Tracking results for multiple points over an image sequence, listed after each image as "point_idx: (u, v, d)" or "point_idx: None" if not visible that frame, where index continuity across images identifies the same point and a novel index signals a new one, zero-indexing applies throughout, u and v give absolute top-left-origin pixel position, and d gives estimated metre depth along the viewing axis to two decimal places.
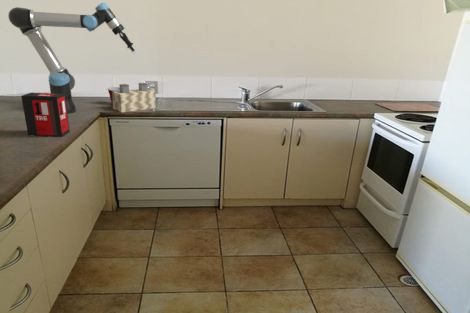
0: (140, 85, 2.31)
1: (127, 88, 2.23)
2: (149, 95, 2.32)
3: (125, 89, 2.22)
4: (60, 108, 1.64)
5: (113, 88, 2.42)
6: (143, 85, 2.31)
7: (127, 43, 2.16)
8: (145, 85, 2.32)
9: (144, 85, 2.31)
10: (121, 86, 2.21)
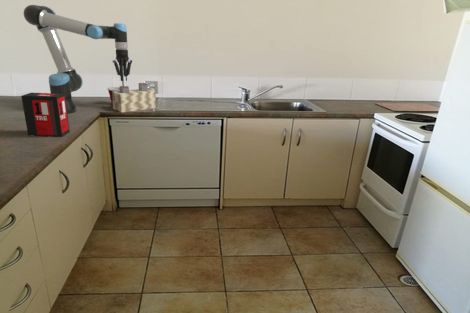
0: (140, 85, 2.31)
1: (127, 90, 2.24)
2: (149, 95, 2.32)
3: (125, 91, 2.23)
4: (60, 108, 1.64)
5: (113, 88, 2.42)
6: (143, 85, 2.31)
7: (117, 72, 2.18)
8: (145, 85, 2.32)
9: (144, 85, 2.31)
10: (121, 88, 2.22)
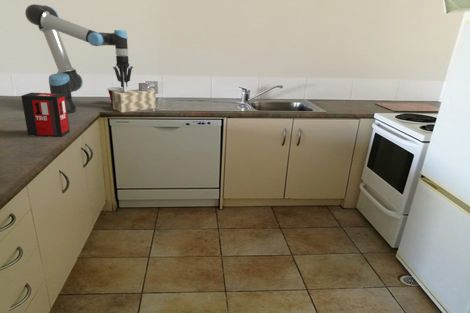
0: (140, 85, 2.31)
1: None
2: (149, 95, 2.32)
3: None
4: (60, 108, 1.64)
5: (113, 88, 2.42)
6: (143, 85, 2.31)
7: (117, 78, 2.19)
8: (145, 85, 2.32)
9: (144, 85, 2.31)
10: None
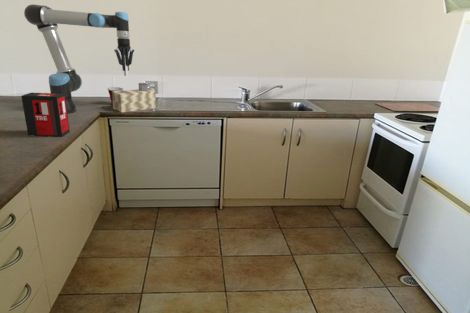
0: (140, 85, 2.31)
1: None
2: (149, 95, 2.32)
3: None
4: (60, 108, 1.64)
5: (113, 88, 2.42)
6: (143, 85, 2.31)
7: (119, 62, 2.17)
8: (145, 85, 2.32)
9: (144, 85, 2.31)
10: None
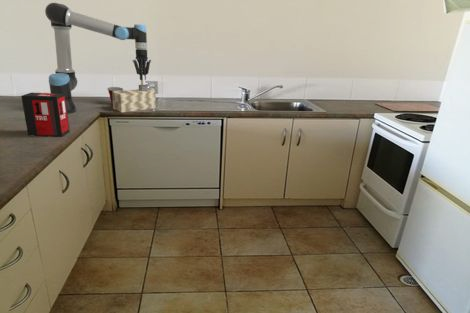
0: (140, 87, 2.31)
1: None
2: (149, 95, 2.32)
3: None
4: (60, 108, 1.64)
5: (113, 88, 2.42)
6: (143, 87, 2.31)
7: (137, 71, 2.27)
8: (145, 87, 2.32)
9: (144, 87, 2.32)
10: None
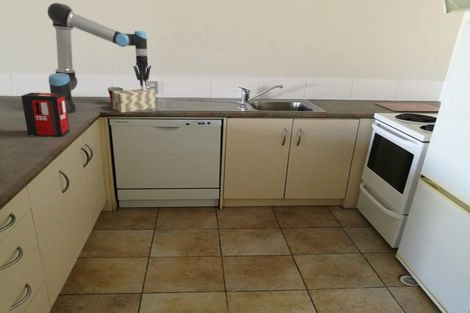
0: None
1: None
2: (149, 95, 2.32)
3: None
4: (60, 108, 1.64)
5: (113, 88, 2.42)
6: None
7: (137, 77, 2.28)
8: None
9: None
10: None
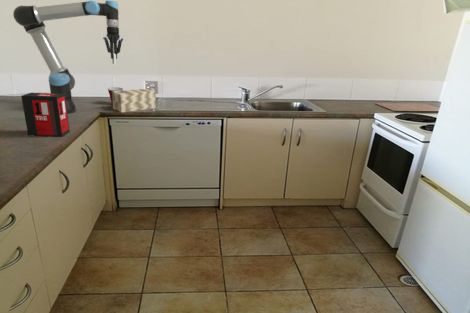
0: None
1: None
2: (149, 95, 2.32)
3: None
4: (60, 108, 1.64)
5: (113, 88, 2.42)
6: None
7: (107, 49, 2.21)
8: None
9: None
10: None
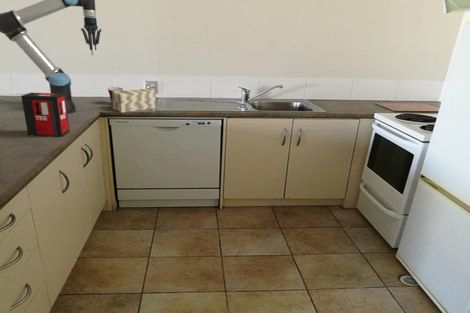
0: None
1: None
2: (149, 95, 2.32)
3: None
4: (60, 108, 1.64)
5: (113, 88, 2.42)
6: None
7: (86, 41, 2.19)
8: None
9: None
10: None
